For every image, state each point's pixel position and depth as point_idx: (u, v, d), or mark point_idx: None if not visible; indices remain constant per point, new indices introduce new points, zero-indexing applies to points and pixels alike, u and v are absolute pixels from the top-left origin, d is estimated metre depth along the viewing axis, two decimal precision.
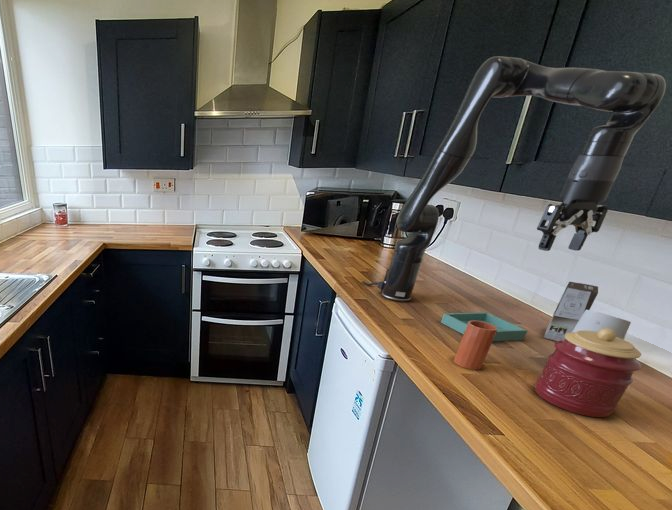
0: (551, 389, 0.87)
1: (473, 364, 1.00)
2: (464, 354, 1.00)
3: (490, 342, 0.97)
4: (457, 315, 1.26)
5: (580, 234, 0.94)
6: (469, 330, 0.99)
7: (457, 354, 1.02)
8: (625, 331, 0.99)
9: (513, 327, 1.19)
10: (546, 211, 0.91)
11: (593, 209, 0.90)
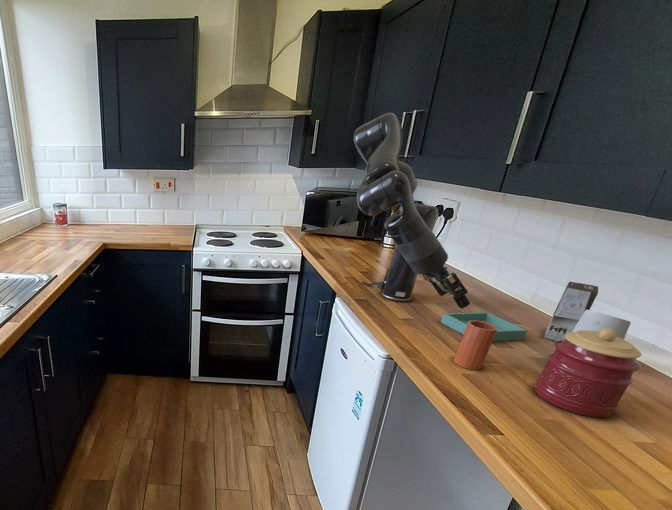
0: (551, 389, 0.87)
1: (473, 364, 1.00)
2: (464, 354, 1.00)
3: (490, 342, 0.97)
4: (457, 315, 1.26)
5: None
6: (469, 330, 0.99)
7: (457, 354, 1.02)
8: (625, 331, 0.99)
9: (513, 327, 1.19)
10: (449, 284, 0.88)
11: None
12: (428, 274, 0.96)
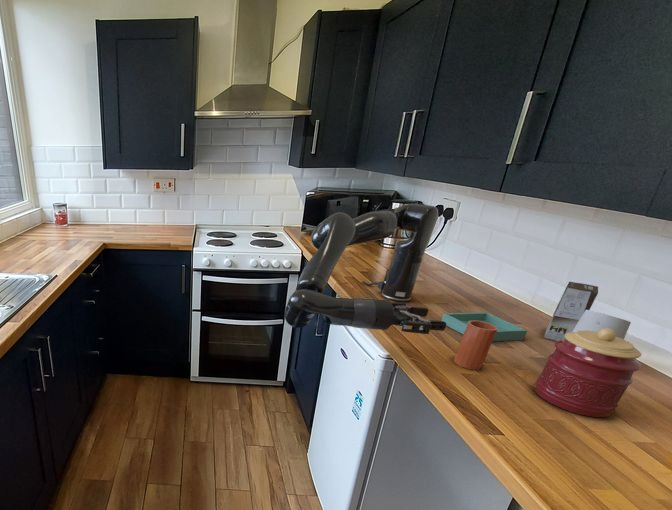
0: (551, 389, 0.87)
1: (473, 364, 1.00)
2: (464, 354, 1.00)
3: (490, 342, 0.97)
4: (457, 315, 1.26)
5: (412, 311, 1.03)
6: (469, 330, 0.99)
7: (457, 354, 1.02)
8: (625, 331, 0.99)
9: (513, 327, 1.19)
10: (410, 330, 0.94)
11: None
12: None
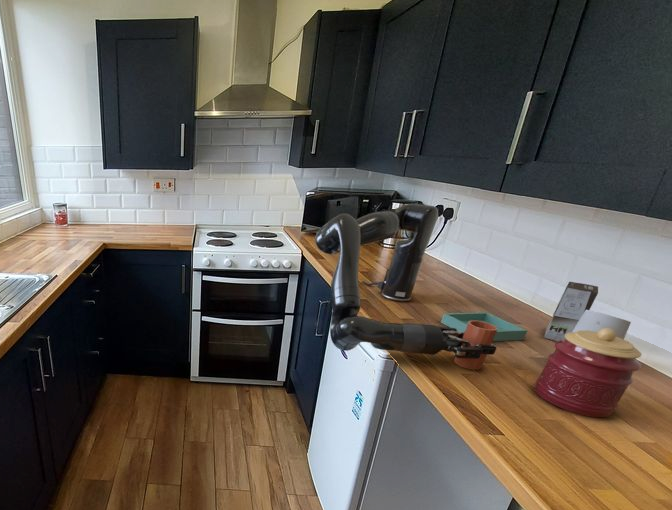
0: (551, 389, 0.87)
1: (473, 364, 1.00)
2: None
3: (490, 342, 0.97)
4: (457, 315, 1.26)
5: None
6: (469, 330, 0.99)
7: None
8: (625, 331, 0.99)
9: (513, 327, 1.19)
10: (464, 356, 0.95)
11: None
12: None
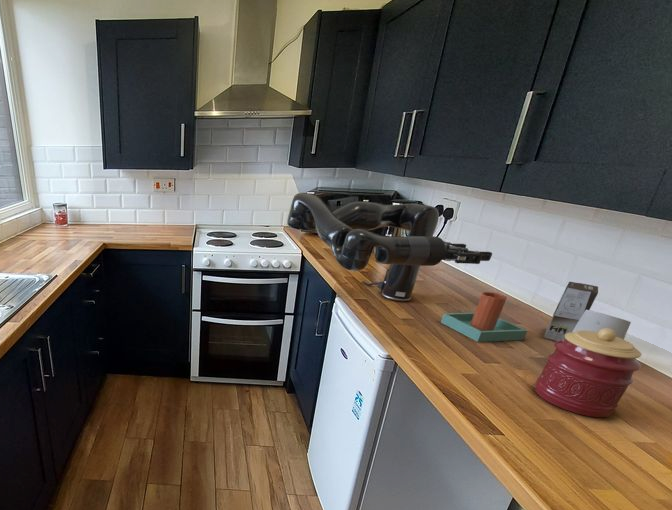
0: (551, 389, 0.87)
1: (488, 328, 1.19)
2: (480, 321, 1.19)
3: (501, 309, 1.17)
4: (457, 315, 1.26)
5: None
6: (484, 300, 1.17)
7: (473, 321, 1.21)
8: (625, 331, 0.99)
9: (513, 327, 1.19)
10: (464, 261, 0.98)
11: None
12: None
